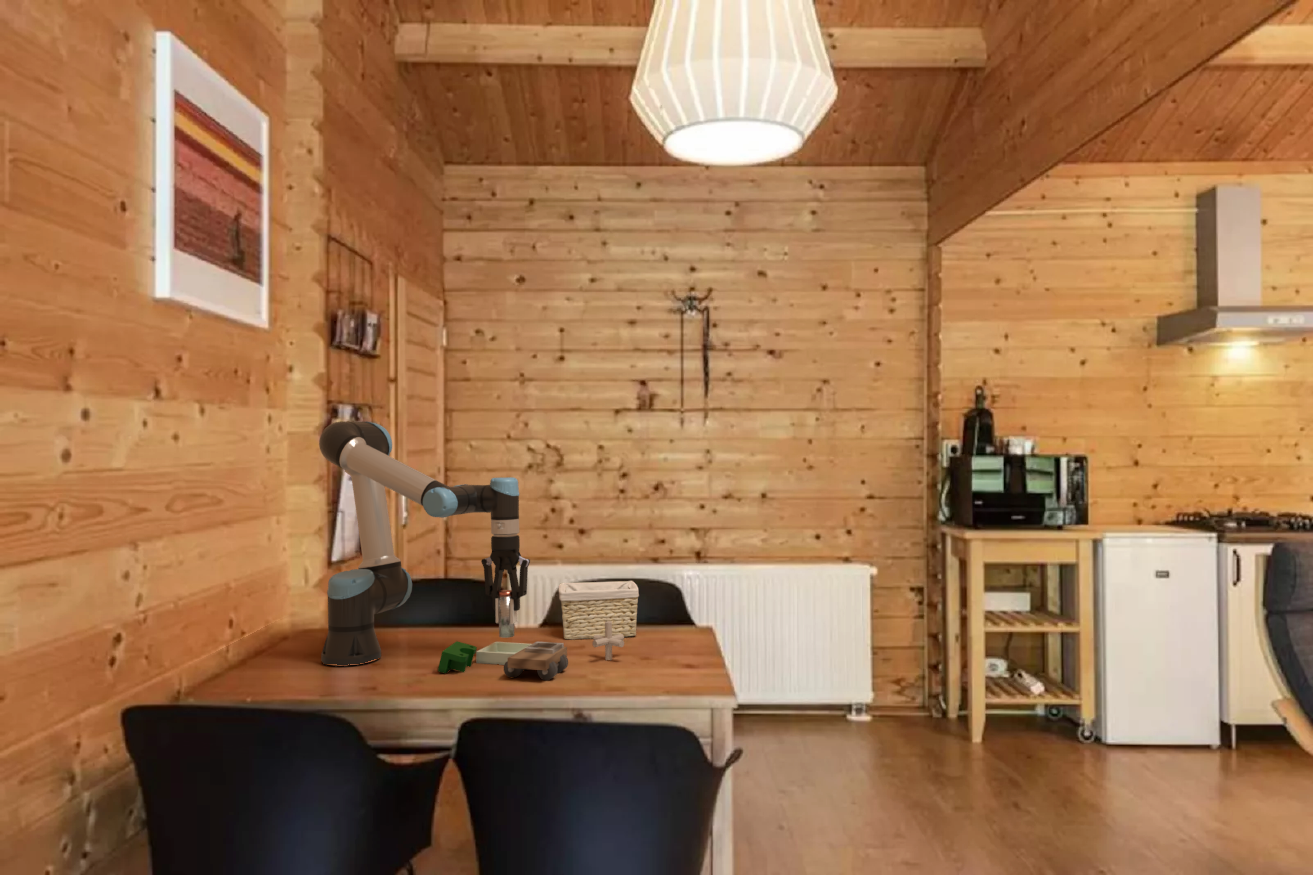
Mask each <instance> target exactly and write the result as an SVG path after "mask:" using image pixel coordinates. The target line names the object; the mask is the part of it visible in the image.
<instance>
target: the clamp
mask: <svg viewBox="0 0 1313 875" xmlns="http://www.w3.org/2000/svg"><path fill="white" fill-rule="evenodd" d="M477 648H478V647H477V646H475V645H472V644H468V643H465V642H461V641H458V640H456V641H455V642H454V643H451V645H449V646H448V647H446V648H445V649H444V650H442V651H441V655H440V659H439V664H438V668H437V672H439V673H443V674H445V673H447V672H448V671H449V670H450V671H452V670H453V671H458V672H460V673H465V672H466V669H467V667H468V666H469V667H468V668H471V667H472V664H473V659H474V657H475V656H474V655H476V651H478V650H477ZM451 669H452V670H451ZM450 671H449V672H450ZM464 671H465V672H464ZM449 672H448V673H449ZM448 673H447V674H448Z"/></svg>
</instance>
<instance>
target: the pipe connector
mask: <svg viewBox="0 0 1313 875" xmlns="http://www.w3.org/2000/svg"><path fill="white" fill-rule="evenodd" d="M624 640H625V636H623V634H619V635H615V636H612V622H610V621H607V622H605V637H604V636H600V635H595V636H594V638H593V641H592V646H593V648H598V647H602V646H605V647H604V649H605V650H604V653H605V656H604V658H605V661H607V660H610V661H612V660H613V646H614V647H619V648H623V647H624V646H625V641H624Z"/></svg>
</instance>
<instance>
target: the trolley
mask: <svg viewBox="0 0 1313 875" xmlns="http://www.w3.org/2000/svg"><path fill="white" fill-rule="evenodd" d="M564 643H565V642H551V641H535V642H533V643H531V644H532V645H530V646H528V647H526V648H524V649H523V650H521V651H519V652H517V653H515V654H514V655H512V656H510V657H508V661H507V662H506V663H505V664H504V665H503V672H504V674H505V676H507V677H508V678H510V677H515V678H517V677H518V676H520V675H521V674H522V673H523V672H524V671H523V670H526V671H528V670H535V671H536V670H537V675H538V677H539V678H540V679H541V680H543V681H550V680H551V679H553V678H554V677H556V676H557V674H559V673H562V672H563V671H564V670H566V669H567V667H568V666H569V659H568V646H564V645H565V644H564Z"/></svg>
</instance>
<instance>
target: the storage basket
mask: <svg viewBox="0 0 1313 875" xmlns="http://www.w3.org/2000/svg"><path fill="white" fill-rule="evenodd" d="M558 595H559V596H558V597H559V601H560V604H561V612H562V615H561V618H562V628H563V638H564V639H565V640H574V641H575V640H577V639H579V640H580V639H581V640H582V639H583V640H586V639H588V640H592V639H593V638H594V636H595V635H600V636H604V637H605V622H607V621H610V622H612V636H615V635H619V634H623V636H624V638H625V637H626V638H627V637H634V636H637V622H638V621H637V617H638V615H637V614H638V602H639V600H638V599H639V597H640V594H639V587H638V584H636V583H635V582H634V580H628V581H625V580H624V581H618V580H617V581H596V582H595V581H594V582H590V581H589V582H586V581H585V582H561V583H559V585H558Z"/></svg>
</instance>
